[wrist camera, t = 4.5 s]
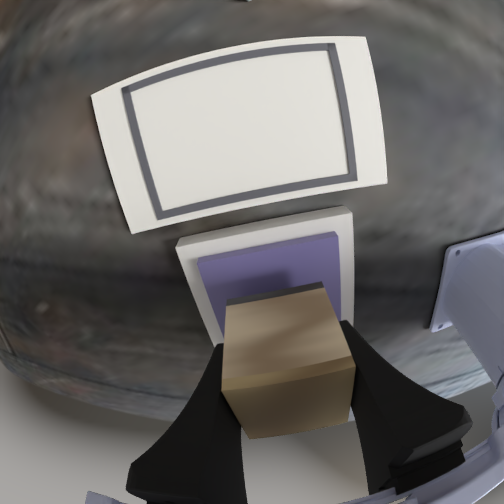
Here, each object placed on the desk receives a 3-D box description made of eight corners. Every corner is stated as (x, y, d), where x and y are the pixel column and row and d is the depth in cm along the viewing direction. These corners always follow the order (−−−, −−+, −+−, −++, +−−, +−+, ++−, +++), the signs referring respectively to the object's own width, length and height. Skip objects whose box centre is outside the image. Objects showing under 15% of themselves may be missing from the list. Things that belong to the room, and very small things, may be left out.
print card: (362, 38, 10) (366, 36, 9) (383, 181, 14) (388, 183, 13) (94, 95, 11) (90, 95, 10) (134, 231, 14) (131, 234, 14)
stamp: (321, 281, 12) (355, 366, 8) (325, 345, 14) (347, 421, 10) (226, 299, 13) (221, 390, 8) (246, 359, 15) (249, 439, 10)
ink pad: (344, 205, 14) (356, 217, 13) (347, 317, 18) (355, 335, 16) (180, 237, 15) (172, 253, 13) (218, 341, 18) (217, 361, 17)
